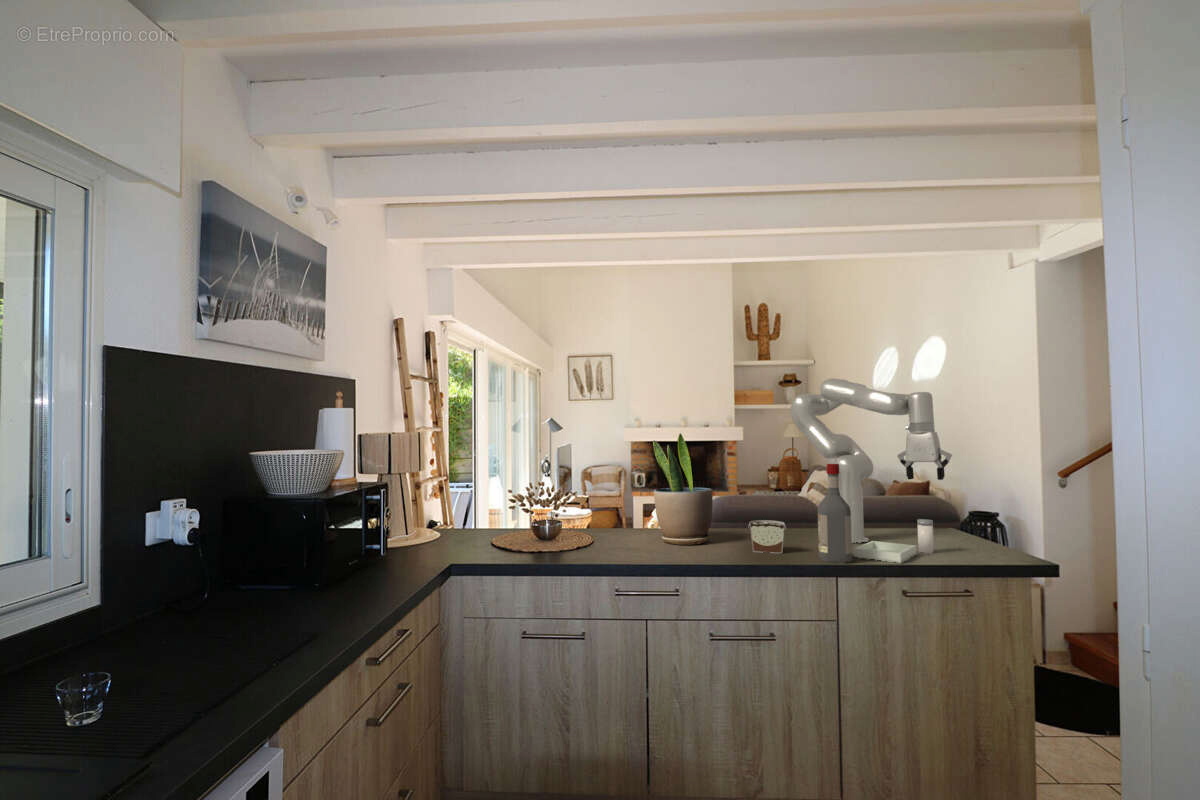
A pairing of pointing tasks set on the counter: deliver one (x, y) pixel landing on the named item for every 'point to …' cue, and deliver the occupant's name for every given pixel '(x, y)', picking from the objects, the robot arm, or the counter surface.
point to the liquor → (834, 522)
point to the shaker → (925, 535)
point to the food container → (767, 535)
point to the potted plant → (681, 500)
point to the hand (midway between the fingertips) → (925, 479)
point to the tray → (885, 551)
